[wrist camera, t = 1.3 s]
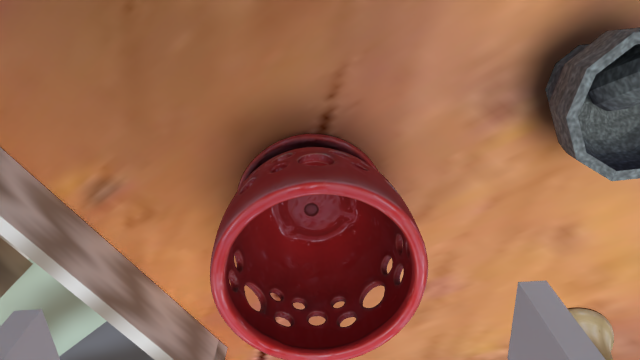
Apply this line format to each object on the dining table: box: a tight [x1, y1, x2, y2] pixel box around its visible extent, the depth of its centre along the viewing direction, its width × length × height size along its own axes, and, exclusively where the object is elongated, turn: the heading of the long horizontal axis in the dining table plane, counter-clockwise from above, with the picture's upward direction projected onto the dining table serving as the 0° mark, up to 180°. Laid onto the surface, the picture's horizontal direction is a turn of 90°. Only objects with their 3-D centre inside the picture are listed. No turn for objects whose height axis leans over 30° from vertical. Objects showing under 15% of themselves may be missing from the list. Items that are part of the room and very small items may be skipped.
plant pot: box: [210, 134, 428, 360], centre depth 33 cm, size 13×13×12 cm
